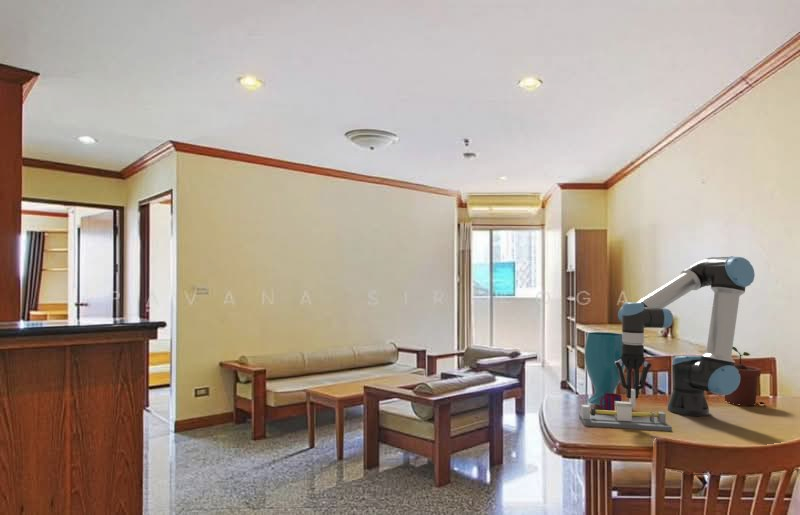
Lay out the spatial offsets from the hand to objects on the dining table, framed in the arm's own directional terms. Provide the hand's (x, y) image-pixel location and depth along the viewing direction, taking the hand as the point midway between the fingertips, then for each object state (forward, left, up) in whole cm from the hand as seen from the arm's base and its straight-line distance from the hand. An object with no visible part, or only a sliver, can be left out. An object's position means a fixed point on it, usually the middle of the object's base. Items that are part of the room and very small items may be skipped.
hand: (632, 407), depth 203 cm
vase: (+2, -37, -7) cm, 38 cm away
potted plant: (-61, -53, -7) cm, 81 cm away
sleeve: (+3, 0, -5) cm, 6 cm away
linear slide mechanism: (+3, 0, -7) cm, 7 cm away
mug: (+4, -19, -7) cm, 21 cm away
